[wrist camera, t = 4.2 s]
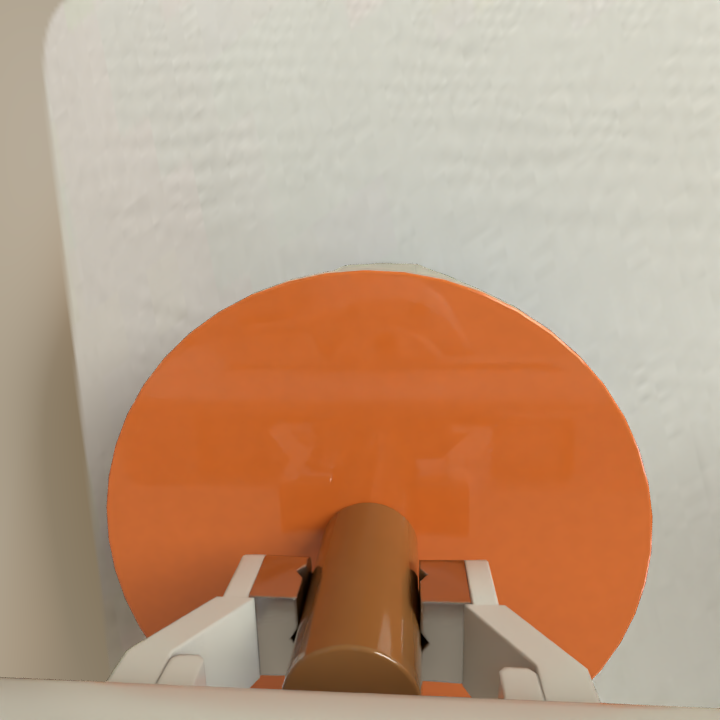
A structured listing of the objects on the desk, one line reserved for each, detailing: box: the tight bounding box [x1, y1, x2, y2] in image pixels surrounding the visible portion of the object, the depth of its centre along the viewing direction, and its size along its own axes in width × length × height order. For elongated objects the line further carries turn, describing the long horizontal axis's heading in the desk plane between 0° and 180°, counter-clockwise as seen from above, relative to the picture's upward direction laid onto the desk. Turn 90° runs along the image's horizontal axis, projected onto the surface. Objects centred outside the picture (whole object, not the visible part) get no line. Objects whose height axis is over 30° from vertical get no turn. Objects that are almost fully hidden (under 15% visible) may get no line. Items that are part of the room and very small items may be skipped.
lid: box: [106, 268, 652, 698], centre depth 13 cm, size 14×14×6 cm
